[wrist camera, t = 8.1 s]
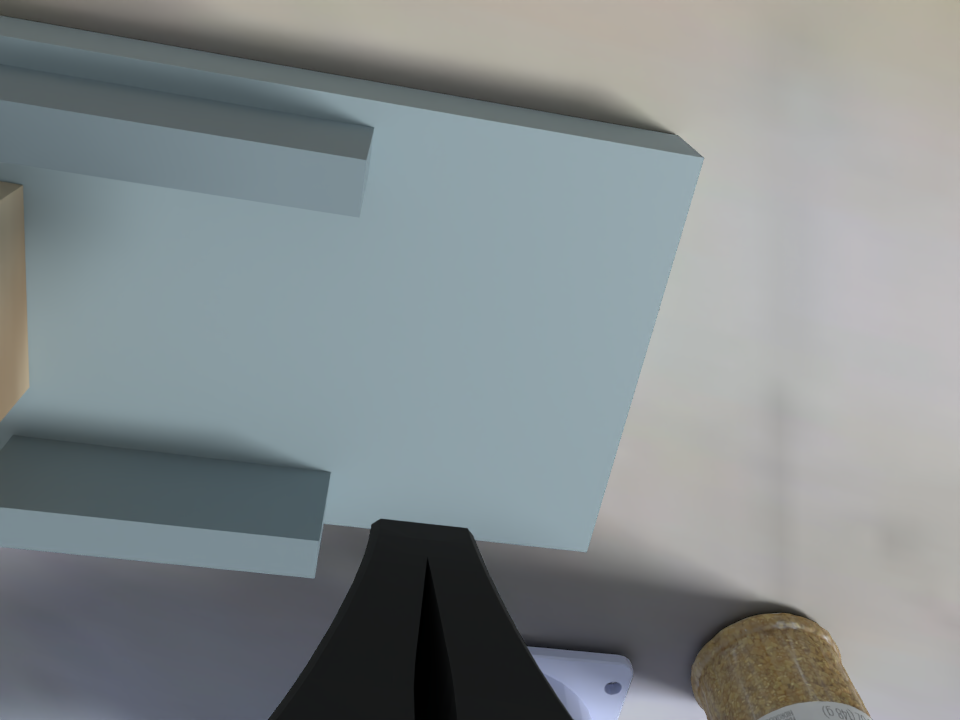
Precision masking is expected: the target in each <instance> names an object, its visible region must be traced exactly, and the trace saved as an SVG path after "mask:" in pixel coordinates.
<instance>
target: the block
mask: <svg viewBox="0 0 960 720" xmlns="http://www.w3.org/2000/svg"><path fill="white" fill-rule="evenodd" d="M28 388H29V357H28V325H27V294H26V262H25V231H24V199H23V185H20V184H14V183H8V182H2V181H0V422H1V421H2V419H3V418H4V417H5V416H6V415H7V413H8V412H9V411H10V410H11V409H12V407H13V406H14V405H15V404H16V403H17V401H18V400H19V399H20V398H21V397H22V395H23V394H24V393H25V392H26V391H27V390H28Z"/></svg>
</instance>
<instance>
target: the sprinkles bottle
mask: <svg viewBox="0 0 960 720" xmlns="http://www.w3.org/2000/svg"><path fill="white" fill-rule="evenodd" d="M691 685H692V689H693V693H694V696H695V699H696V701H697V702H698V704H699V705H700V707H701V708H702V709H703V710H704V711H705V713H706V715H707V719H708V720H872V718H871V717H870V715H869V713H868V711H867V710H866V708H865V706H864V704H863V702H862V700H861V698H860V696H859V694H858V692H857V691H856V689H855V688H854V686H853V684H852V682H851V680H850V678H849V676H848V674H847V672H846V670H845V669H844V667H843V665H842V662H841V655H840V652H839V649H838V647H837V645H836V644H835V642H834V641H833V639H832V638H831V636H830V634H829V632H828V631H826V630H825V629H823V628H822V627H820V626H819V625H818V624H817V623H816V622H813V621H811V620H809V619H807V618H804V617H801V616H794V615H792V614H789V613H772V614H759V615H755V616H751V617H748V618H745V619H743V620H740V621H738V622H736V623H734V624H732V625H730V626H728V627H726V628H724V629H723V630H721V631H720V632H719V633H717V634H716V635H715V637H714V638H713V639H711V640H710V641H709V642H707V644H706V645H705V646H704V647H703V648H702V649H701V650H700V652H699V653H698V655H697V657H696V659H695V662H694V663H693V665H692V672H691Z"/></svg>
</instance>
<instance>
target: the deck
mask: <svg viewBox="0 0 960 720" xmlns="http://www.w3.org/2000/svg"><path fill="white" fill-rule="evenodd" d="M703 160H704V157H702V156H701V155H700V154H699V153H698V152H697V151H696V150H694V149H693V148H692V147H691V146H690V145H689V144H687V143H686V142H685V141H684V140H683V139H682V138H680V137H679V136H678V135H673V134H667V133H662V132H656V131H651V130H645V129H639V128H634V127H628V126H622V125H617V124H611V123H605V122H600V121H594V120H588V119H583V118H577V117H571V116H566V115H560V114H554V113H549V112H543V111H537V110H532V109H526V108H521V107H515V106H509V105H504V104H498V103H492V102H487V101H481V100H475V99H470V98H464V97H458V96H453V95H447V94H441V93H436V92H430V91H424V90H419V89H413V88H407V87H402V86H396V85H391V84H385V83H379V82H374V81H368V80H362V79H357V78H351V77H345V76H340V75H334V74H328V73H323V72H317V71H311V70H306V69H300V68H294V67H289V66H283V65H277V64H272V63H266V62H261V61H255V60H249V59H244V58H238V57H232V56H227V55H221V54H215V53H210V52H204V51H198V50H193V49H187V48H181V47H176V46H170V45H164V44H159V43H153V42H147V41H142V40H136V39H131V38H125V37H119V36H114V35H108V34H102V33H97V32H91V31H85V30H80V29H74V28H68V27H63V26H57V25H51V24H46V23H40V22H34V21H29V20H23V19H18V18H12V17H6V16H1V15H0V181H2V182H8V183H14V184H20V185H23V199H24V231H25V262H26V294H27V325H28V357H29V388H28V390H27V391H26V392H25V393H24V394H23V395H22V397H21V398H20V399H19V400H18V401H17V403H16V404H15V405H14V406H13V407H12V409H11V410H10V411H9V412H8V413H7V415H6V416H5V417H4V418H3V419H2V421H1V422H0V547H6V548H16V549H25V550H35V551H45V552H55V553H65V554H75V555H85V556H95V557H105V558H115V559H125V560H135V561H145V562H155V563H165V564H175V565H185V566H195V567H205V568H215V569H225V570H235V571H245V572H254V573H264V574H274V575H284V576H294V577H304V578H314V579H315V573H316V567H317V561H318V555H319V549H320V543H321V537H322V531H323V525H324V524H331V525H340V526H350V527H359V528H368V529H371V524H373V523H374V522H376V521H377V520H379V519H390V520H399V521H408V522H417V523H426V524H435V525H444V526H453V527H462V528H468V530H469V531H470V532H471V533H472V535H473V536H474V539H475V540H478V541H487V542H497V543H506V544H515V545H524V546H533V547H543V548H552V549H561V550H570V551H579V552H587V550H588V546H589V543H590V540H591V536H592V533H593V530H594V526H595V523H596V519H597V516H598V513H599V509H600V506H601V503H602V499H603V496H604V493H605V489H606V486H607V482H608V479H609V476H610V472H611V469H612V466H613V462H614V459H615V456H616V452H617V449H618V446H619V442H620V439H621V435H622V432H623V429H624V425H625V422H626V419H627V415H628V412H629V409H630V405H631V402H632V399H633V395H634V392H635V388H636V385H637V382H638V378H639V375H640V372H641V368H642V365H643V362H644V358H645V355H646V352H647V348H648V345H649V341H650V338H651V335H652V331H653V328H654V325H655V321H656V318H657V315H658V311H659V308H660V305H661V301H662V298H663V294H664V291H665V288H666V284H667V281H668V278H669V274H670V271H671V268H672V264H673V261H674V258H675V254H676V251H677V247H678V244H679V241H680V237H681V234H682V231H683V227H684V224H685V221H686V217H687V214H688V211H689V207H690V204H691V200H692V197H693V194H694V190H695V187H696V184H697V180H698V177H699V174H700V170H701V167H702V164H703Z"/></svg>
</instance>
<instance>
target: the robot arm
mask: <svg viewBox="0 0 960 720" xmlns="http://www.w3.org/2000/svg"><path fill="white" fill-rule="evenodd" d="M632 678H633V668H632V664H631V662H630V660H629V659H628V658H626V657H625V656H621V655H615V654H604V653H593V652H583V651H572V650H561V649H550V648H540V647H529V646H526V644H525V642H524V641H523V639H522V637H521V635H520V633H519V632H518V630H517V628H516V626H515V624H514V622H513V621H512V619H511V617H510V615H509V613H508V611H507V609H506V608H505V606H504V604H503V602H502V600H501V598H500V596H499V594H498V591H497V589H496V587H495V585H494V583H493V581H492V579H491V577H490V575H489V572H488V570H487V568H486V566H485V563H484V561H483V559H482V556H481V554H480V552H479V549H478V547H477V544H476V541H475V539H474V536H473V535H472V533H471V532H470V531H469V530H468V528H462V527H453V526H444V525H435V524H426V523H417V522H408V521H399V520H390V519H379V520H377V521H376V522H374V523H373V524H371V530H370V537H369V541H368V545H367V548H366V551H365V554H364V557H363V560H362V562H361V565H360V567H359V570H358V572H357V574H356V577H355V579H354V581H353V584H352V586H351V588H350V589H349V591H348V593H347V595H346V597H345V599H344V601H343V603H342V605H341V607H340V609H339V611H338V613H337V615H336V617H335V619H334V621H333V622H332V624H331V626H330V628H329V629H328V631H327V633H326V634H325V636H324V638H323V639H322V641H321V643H320V644H319V646H318V647H317V649H316V651H315V652H314V654H313V656H312V657H311V659H310V661H309V662H308V664H307V665H306V667H305V668H304V670H303V672H302V673H301V674H300V676H299V677H298V679H297V680H296V682H295V683H294V685H293V686H292V688H291V689H290V691H289V692H288V693H287V695H286V696H285V698H284V699H283V700H282V702H281V703H280V704H279V706H278V707H277V708H276V710H275V711H274V712H273V714H272V715H271V716H270V718H269V719H268V720H618V717H619V714H620V712H621V709H622V706H623V703H624V700H625V698H626V695H627V692H628V689H629V686H630V684H631V681H632ZM610 682H615V683H613V684H608V683H610Z"/></svg>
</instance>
